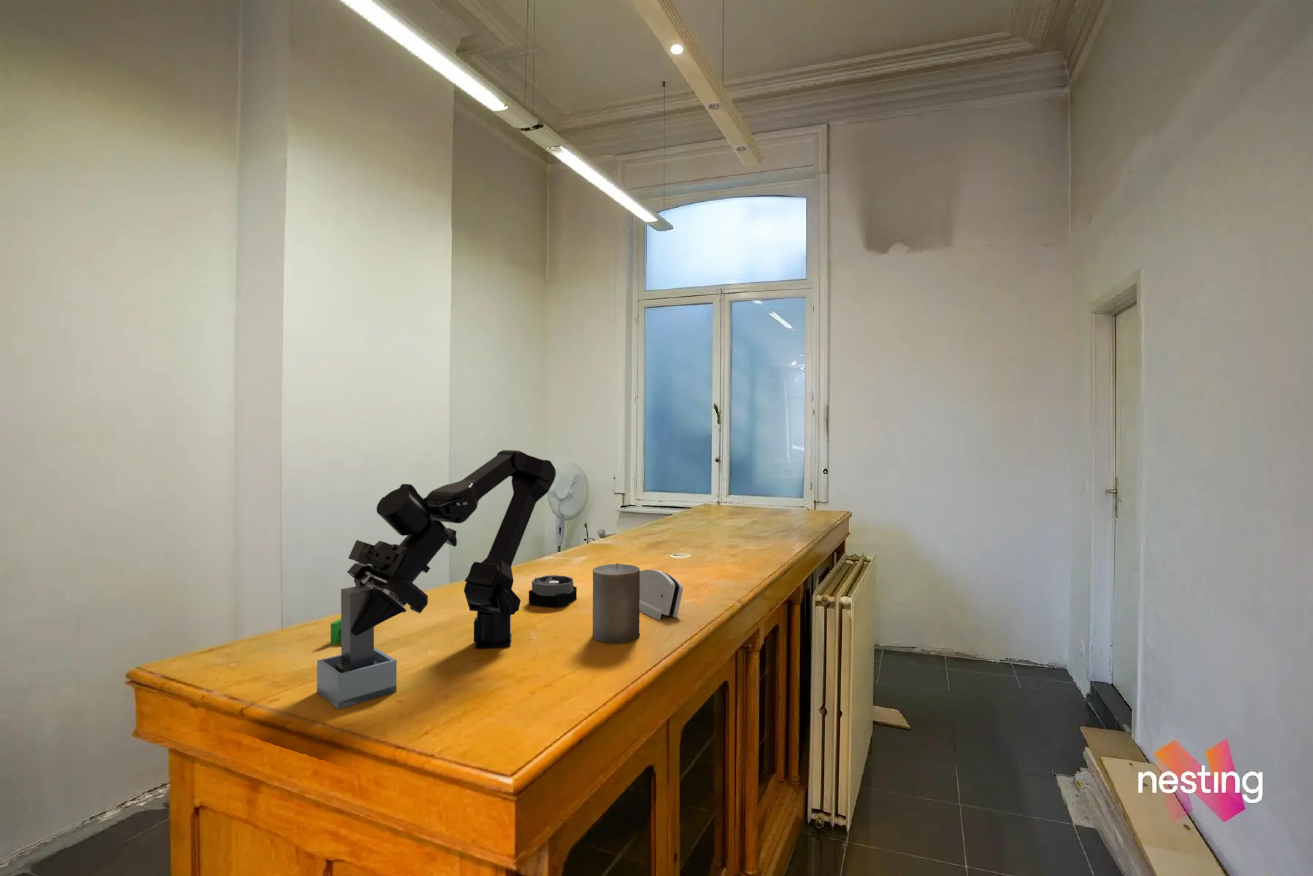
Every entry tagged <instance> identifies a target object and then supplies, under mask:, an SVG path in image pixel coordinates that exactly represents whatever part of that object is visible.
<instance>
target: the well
mask: <svg viewBox="0 0 1313 876" xmlns="http://www.w3.org/2000/svg"><path fill="white" fill-rule="evenodd" d="M374 661H376V662H377V663H379V664H375V665H371V666H367V667H364V668H360V669H356V670H352V671H348V672H344V673H339V672H338V671H337V670H335V664H339V663H341V654H337V655H334V656H330V657H325V658H321V659H318V660H316V693H318V694H319V695H320V696H321V697H323V698H324V699H325V700H326V701H327V702H329V703H330V704H331V705H332V706H333V707H335V708H336V709H337V710H340V709H343V708H346V707H349V706H350V707H351V706H354V705H356V704H360V703H363V702H367V701H370V700H375V699H377V698H380V697H384V696H387V695H390V694H393V693H397V674H398V673H397V666H398V665H397V659H396V658H393V657H392V656H390V655H388V654H387V653H385V652H383V651H381V650H380V649H378V648H376V647H375V646H374Z"/></svg>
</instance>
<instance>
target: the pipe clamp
mask: <svg viewBox="0 0 1313 876" xmlns="http://www.w3.org/2000/svg"><path fill="white" fill-rule="evenodd" d="M339 643H340V644H341V618H339V619H337V620H336V621H333V622H331V623H330V645H338V644H339Z"/></svg>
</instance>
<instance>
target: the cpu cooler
mask: <svg viewBox="0 0 1313 876" xmlns="http://www.w3.org/2000/svg"><path fill="white" fill-rule="evenodd" d="M577 589H578V587H577V586H575V585H574V579H573V577H570V576H565V575H556V574H549V575H544V576H543V575H542V576H539V577H538V576H537V577H534V579H533V580H532V581H531V589H530V590H528V604H529V606H533V607H535V606H536V607H546V608H554V609H559V608H565V607H566V606H568V605H570V604H572V603H573V602H575V601H576V600H577V598H578V597H577V591H578V590H577Z"/></svg>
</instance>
